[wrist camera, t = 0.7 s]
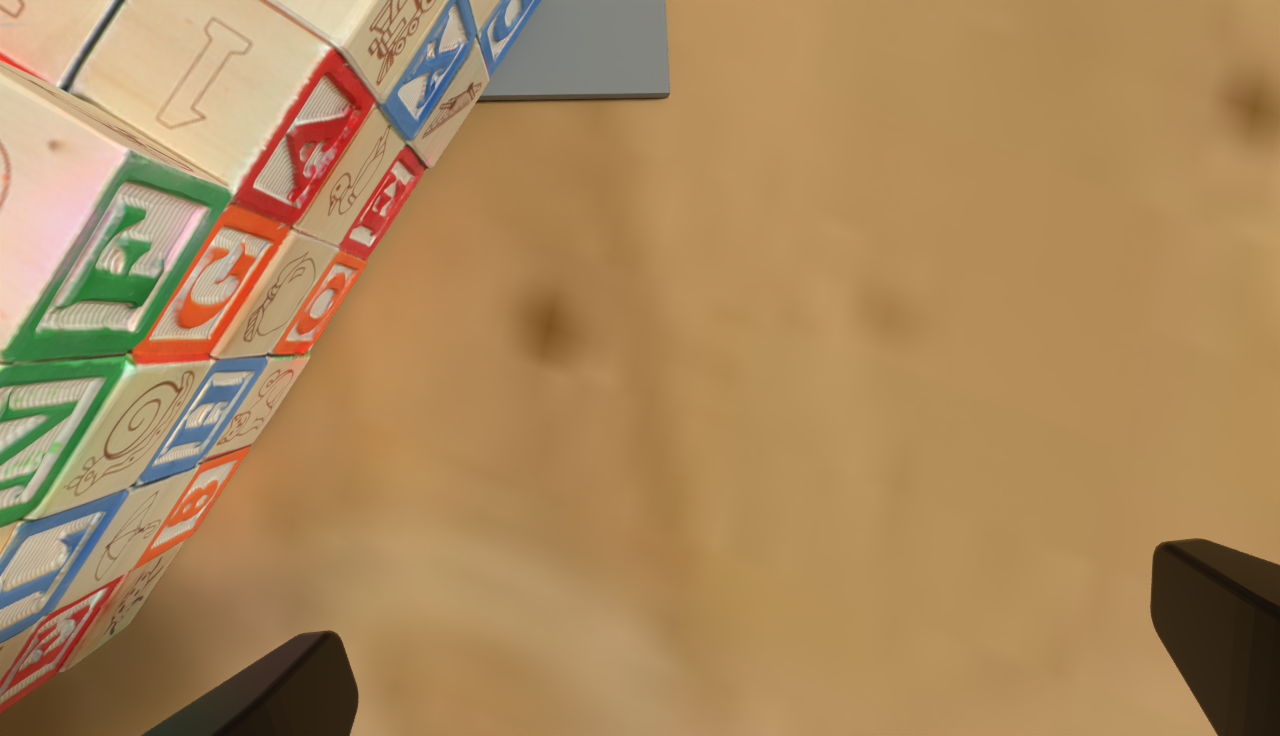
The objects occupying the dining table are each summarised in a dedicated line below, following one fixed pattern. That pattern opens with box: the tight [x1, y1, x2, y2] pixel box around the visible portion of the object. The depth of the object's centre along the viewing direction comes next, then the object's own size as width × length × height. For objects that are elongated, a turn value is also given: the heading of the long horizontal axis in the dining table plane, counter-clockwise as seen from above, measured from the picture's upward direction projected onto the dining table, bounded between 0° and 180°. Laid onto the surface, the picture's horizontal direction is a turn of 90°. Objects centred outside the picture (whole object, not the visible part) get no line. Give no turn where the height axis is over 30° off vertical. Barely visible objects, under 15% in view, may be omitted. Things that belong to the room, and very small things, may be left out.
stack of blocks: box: [0, 0, 541, 714], centre depth 15 cm, size 21×6×12 cm, turn 147°
